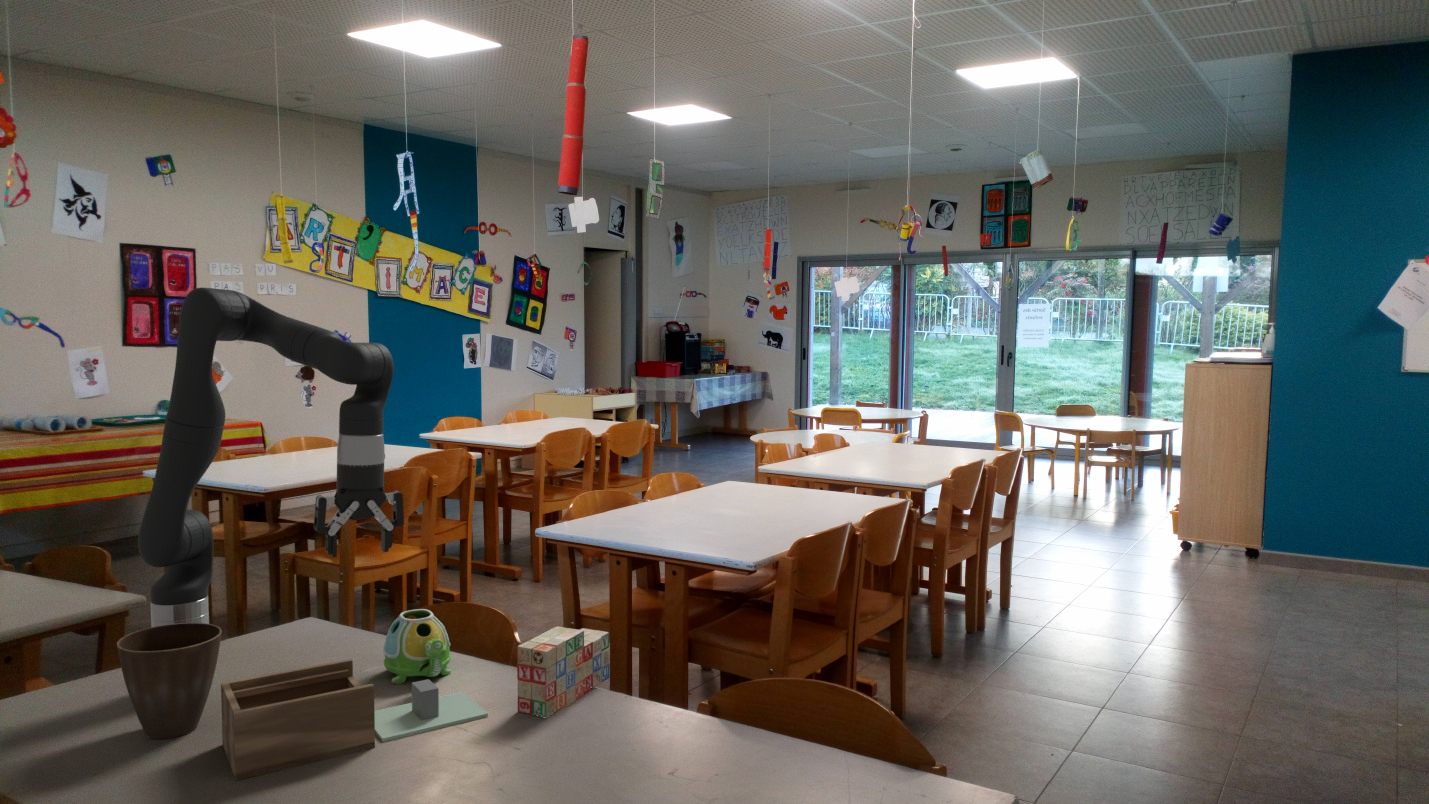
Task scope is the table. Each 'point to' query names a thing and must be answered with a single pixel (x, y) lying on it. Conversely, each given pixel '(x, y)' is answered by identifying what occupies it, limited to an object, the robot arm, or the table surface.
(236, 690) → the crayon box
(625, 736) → the table surface
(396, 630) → the turtle holder
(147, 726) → the plant pot
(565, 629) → the stack of blocks
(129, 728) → the table surface
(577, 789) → the table surface
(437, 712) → the lid
